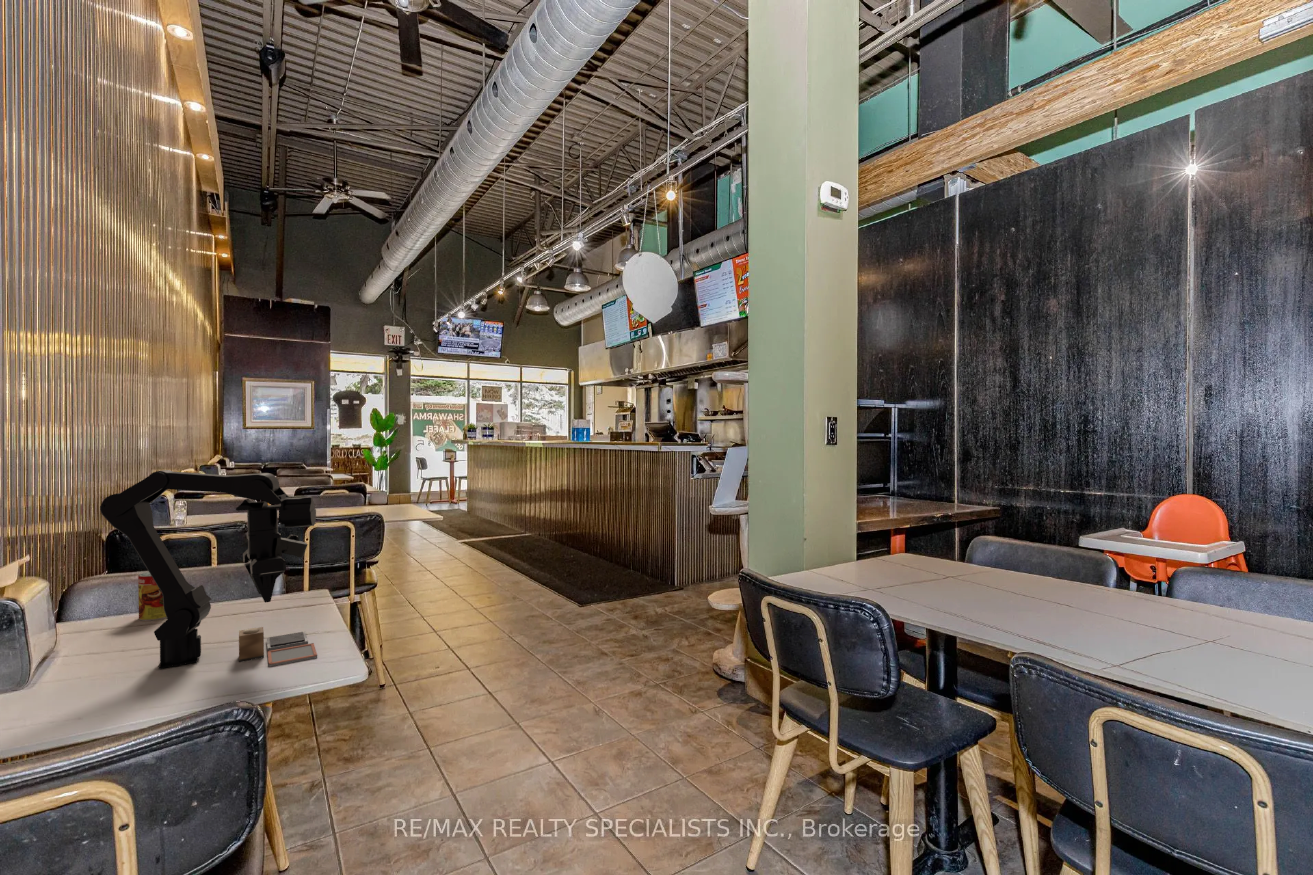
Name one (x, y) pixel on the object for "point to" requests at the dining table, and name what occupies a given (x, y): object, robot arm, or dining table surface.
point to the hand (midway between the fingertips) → (264, 597)
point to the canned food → (149, 598)
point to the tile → (291, 654)
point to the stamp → (251, 644)
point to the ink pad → (286, 641)
